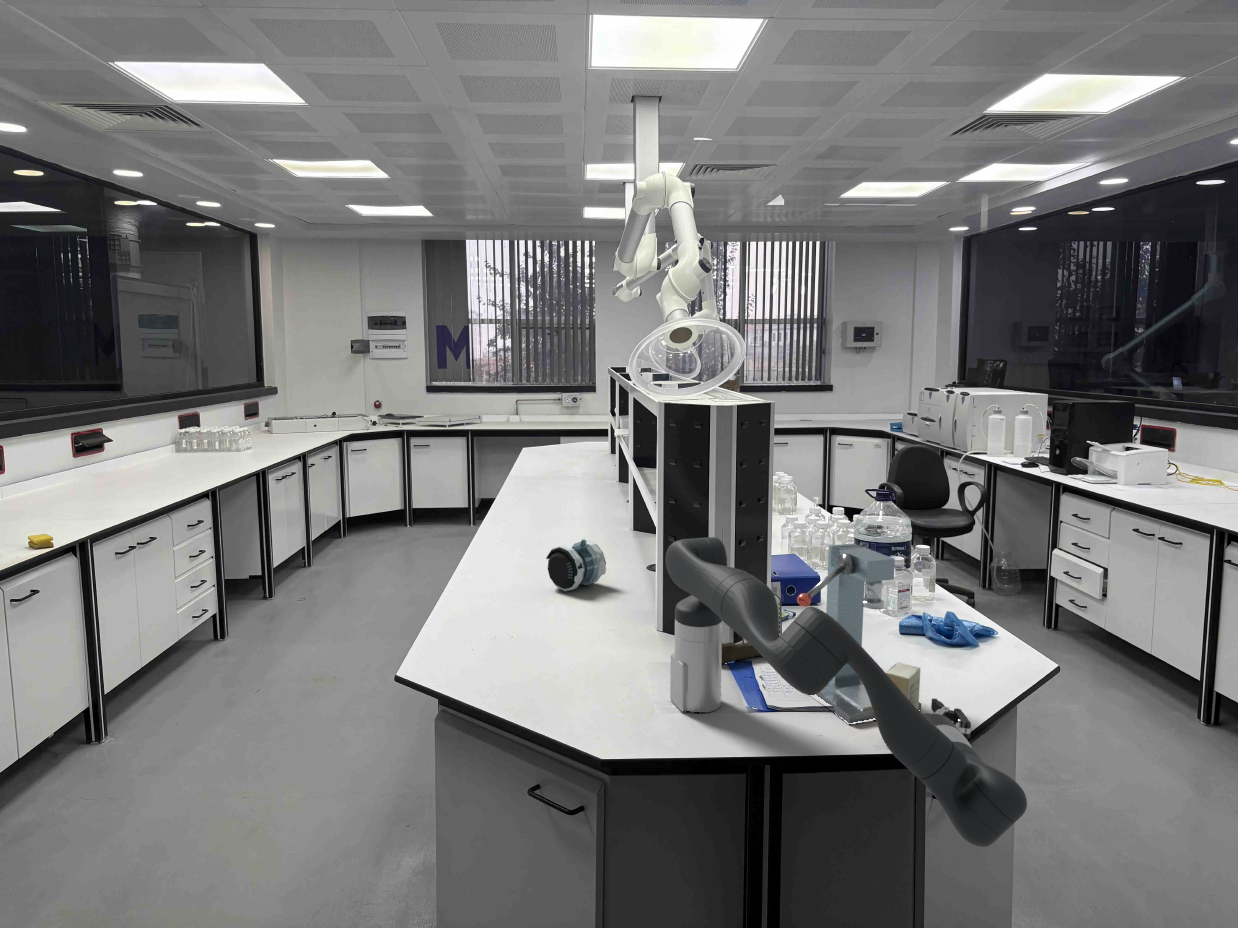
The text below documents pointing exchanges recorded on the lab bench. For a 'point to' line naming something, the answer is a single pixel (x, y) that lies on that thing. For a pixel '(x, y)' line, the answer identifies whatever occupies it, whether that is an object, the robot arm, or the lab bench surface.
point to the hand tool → (737, 652)
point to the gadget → (576, 565)
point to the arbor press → (851, 617)
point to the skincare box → (906, 680)
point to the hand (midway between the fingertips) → (909, 702)
